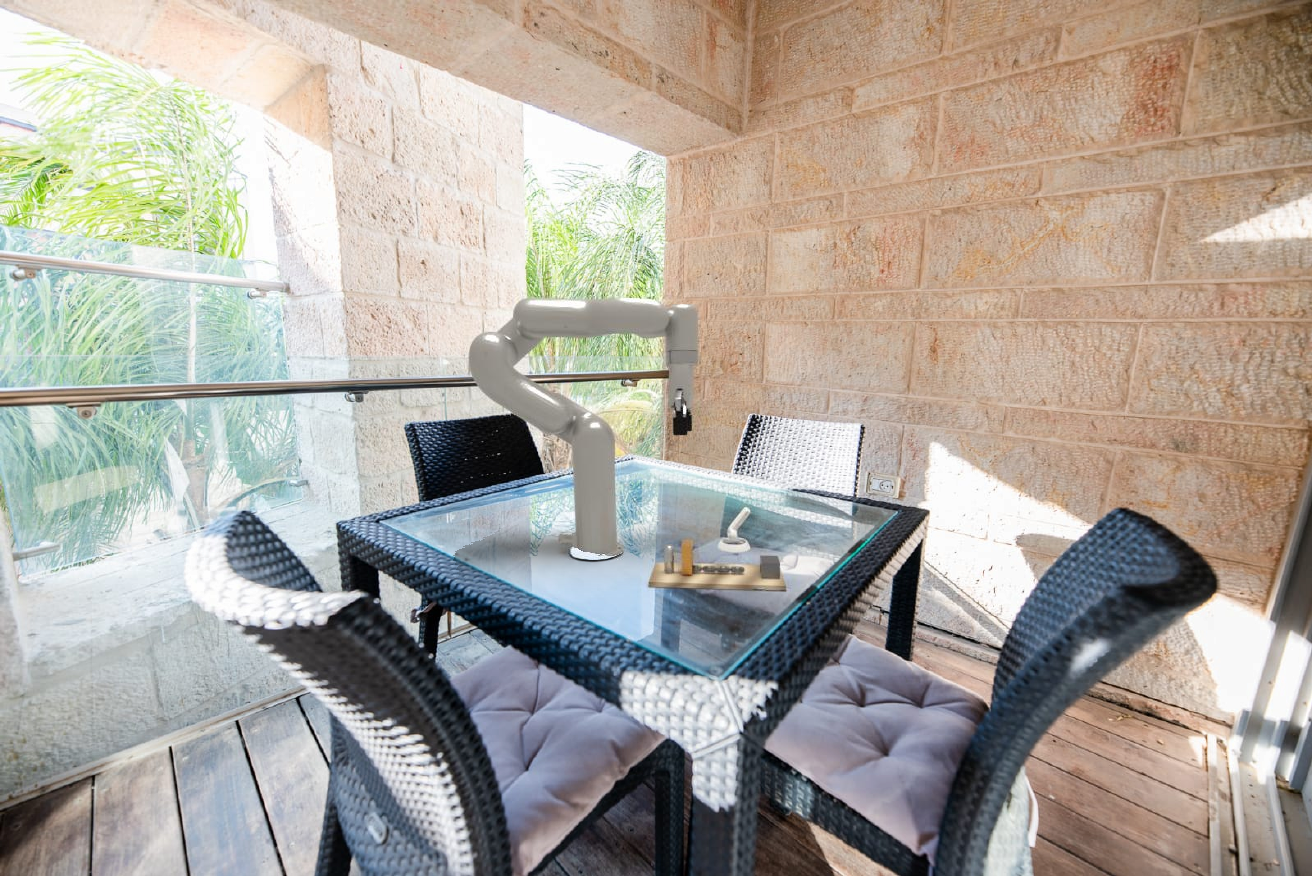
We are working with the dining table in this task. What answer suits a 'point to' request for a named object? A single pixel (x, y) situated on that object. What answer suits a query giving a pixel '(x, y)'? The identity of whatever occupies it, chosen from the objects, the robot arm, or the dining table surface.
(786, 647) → the dining table surface
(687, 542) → the block with bead chain
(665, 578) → the board
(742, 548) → the white ringed handle device
